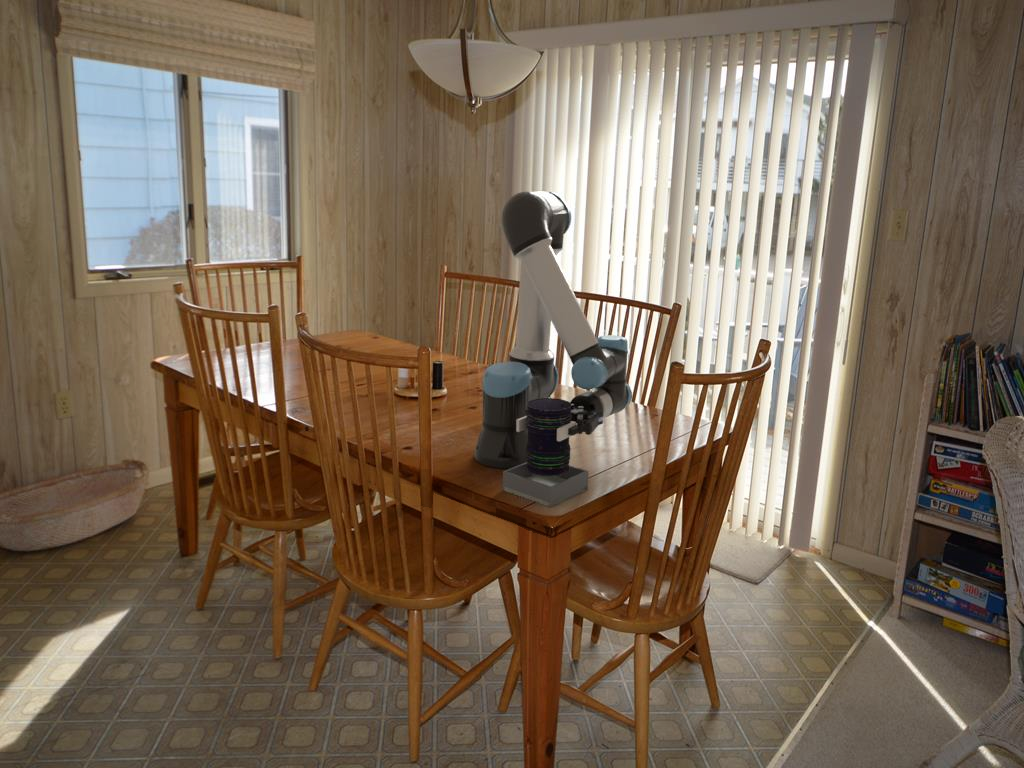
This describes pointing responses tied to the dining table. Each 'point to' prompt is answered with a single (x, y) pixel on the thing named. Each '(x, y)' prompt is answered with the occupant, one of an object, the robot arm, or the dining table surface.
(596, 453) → the dining table surface
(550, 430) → the dark blue ribbed cylinder
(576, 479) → the cradle tray
